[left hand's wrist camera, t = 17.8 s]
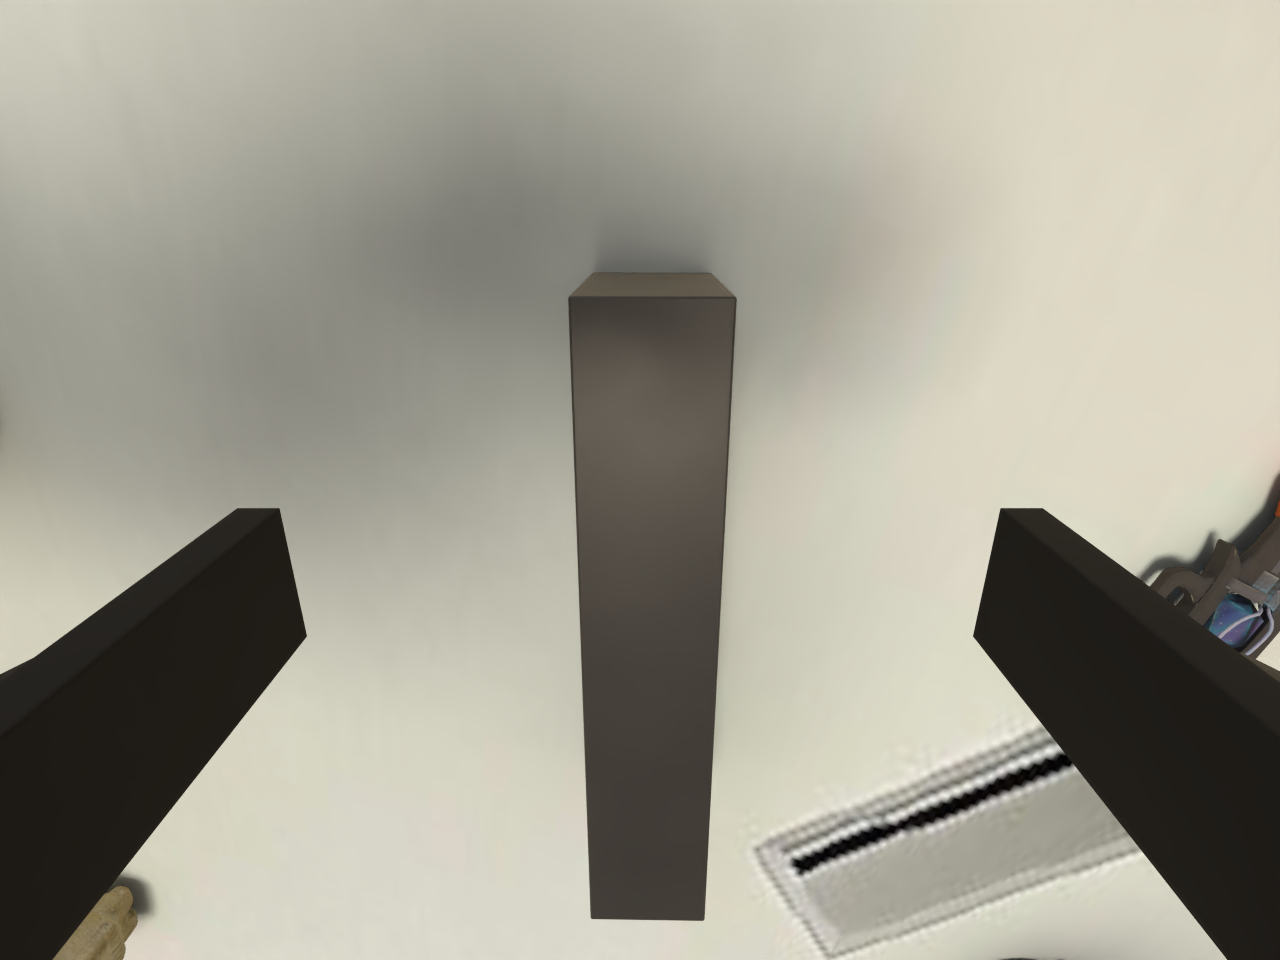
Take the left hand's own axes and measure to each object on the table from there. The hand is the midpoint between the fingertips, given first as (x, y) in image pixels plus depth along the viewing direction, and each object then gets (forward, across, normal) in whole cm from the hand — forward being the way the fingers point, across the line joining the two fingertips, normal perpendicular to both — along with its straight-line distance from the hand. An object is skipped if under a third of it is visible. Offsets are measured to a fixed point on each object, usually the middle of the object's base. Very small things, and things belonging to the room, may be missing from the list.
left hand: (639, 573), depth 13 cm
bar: (+20, 0, -10) cm, 22 cm away
